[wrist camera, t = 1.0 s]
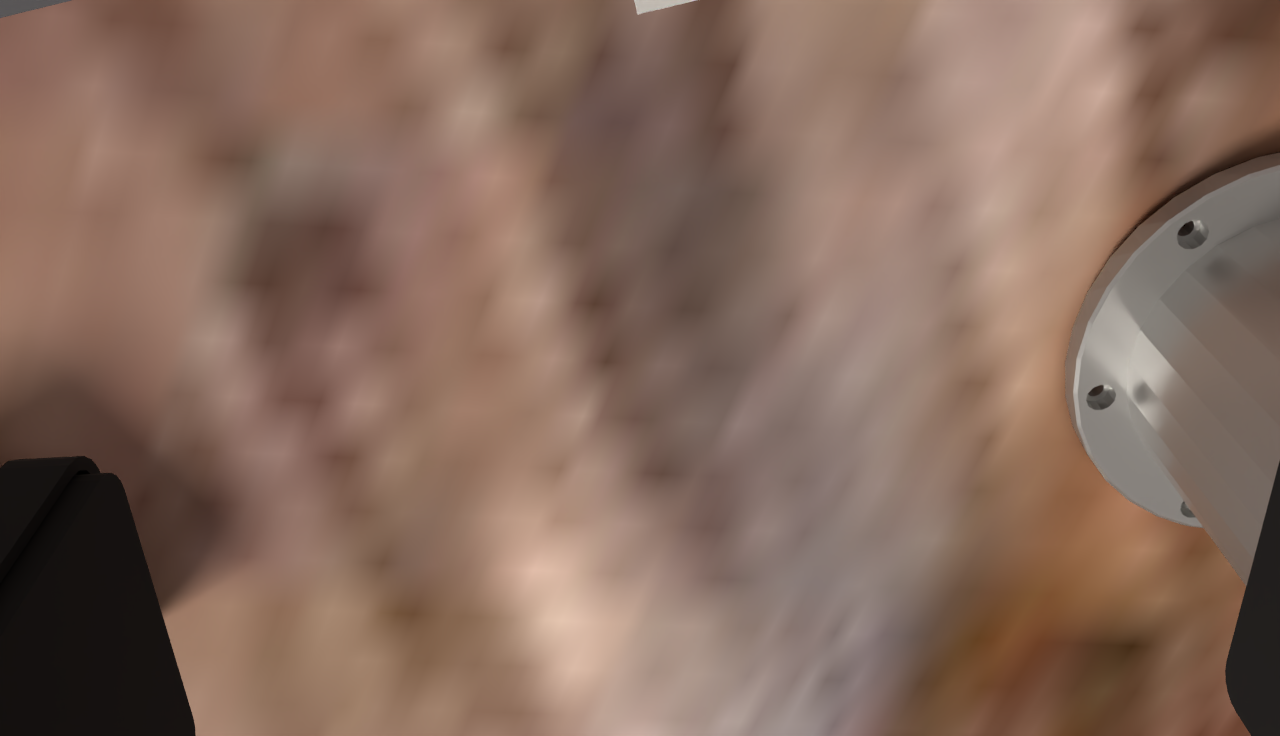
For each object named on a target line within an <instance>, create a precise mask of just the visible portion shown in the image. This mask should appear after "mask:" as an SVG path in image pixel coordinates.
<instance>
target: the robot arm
mask: <svg viewBox="0 0 1280 736" xmlns="http://www.w3.org/2000/svg"><path fill="white" fill-rule="evenodd" d="M1185 223H1187V224H1186V225H1185V227H1184V228H1182V229H1180V228H1181V227H1182V226H1183V225H1184V224H1185ZM1065 397H1066V401H1067V405H1068V409H1069V413H1070V417H1071V421H1072V425H1073V428H1074V430H1075V432H1076V434H1077V436H1078V438H1079V440H1080V441H1081V443H1082V445H1083V447H1084V449H1085V451H1086V453H1087V455H1088V456H1089V457H1090V459H1091V460H1092V462H1093V463H1094V464H1095V466H1096V467H1097V469H1098V470H1099V471H1100V473H1101V474H1102V476H1103V477H1104V478H1105V480H1106V481H1107V482H1108V483H1109V484H1111V485H1112V486H1113V487H1114V488H1115V489H1116V490H1117V491H1118V492H1120V493H1121V494H1122V495H1123V496H1124V497H1125V498H1126V499H1128V500H1129V501H1130V502H1132V503H1134V504H1136V505H1138V506H1139V507H1141V508H1143V509H1145V510H1147V511H1148V512H1150V513H1152V514H1154V515H1156V516H1158V517H1161V518H1164V519H1167V520H1170V521H1173V522H1176V523H1179V524H1182V525H1186V526H1192V527H1200V528H1204V529H1205V530H1206V532H1207V533H1208V534H1209V536H1210V537H1211V538H1212V540H1213V541H1214V543H1215V544H1216V545H1217V547H1218V548H1219V549H1220V551H1221V552H1222V554H1223V555H1224V556H1225V558H1226V559H1227V560H1228V562H1229V563H1230V564H1231V566H1232V567H1233V569H1234V570H1235V571H1236V573H1237V574H1238V575H1239V577H1240V578H1241V580H1242V581H1243V582H1244V584H1245V585H1246V590H1245V594H1244V597H1243V601H1242V605H1241V609H1240V613H1239V616H1238V620H1237V624H1236V628H1235V632H1234V635H1233V639H1232V643H1231V647H1230V650H1229V654H1228V658H1227V663H1226V670H1225V672H1226V685H1227V690H1228V694H1229V697H1230V700H1231V703H1232V705H1233V707H1234V709H1235V711H1236V712H1237V714H1238V716H1239V717H1240V719H1241V720H1242V722H1243V723H1244V725H1245V726H1246V728H1247V730H1248V731H1249V733H1250V734H1251V736H1280V153H1275V154H1271V155H1266V156H1261V157H1257V158H1254V159H1252V160H1249V161H1246V162H1244V163H1241V164H1239V165H1236V166H1234V167H1231V168H1229V169H1226V170H1223V171H1221V172H1218V173H1216V174H1214V175H1212V176H1210V177H1208V178H1207V179H1205V180H1203V181H1201V182H1200V183H1198V184H1196V185H1195V186H1193V187H1191V188H1189V189H1188V190H1186V191H1184V192H1182V193H1181V194H1179V195H1177V196H1176V197H1174V198H1173V199H1172V200H1170V201H1169V202H1168V203H1167V204H1165V205H1164V206H1163V207H1162V208H1160V209H1159V210H1158V211H1157V212H1155V213H1154V214H1153V215H1152V216H1150V217H1149V218H1148V219H1147V220H1145V221H1144V222H1143V223H1142V224H1140V225H1139V226H1138V227H1137V228H1136V230H1135V231H1134V232H1133V233H1132V234H1131V235H1130V236H1129V237H1128V238H1127V239H1126V240H1125V242H1124V243H1123V244H1122V245H1121V246H1120V247H1119V248H1118V249H1117V250H1116V251H1115V253H1114V254H1113V255H1112V256H1111V257H1110V258H1109V260H1108V261H1107V263H1106V264H1105V266H1104V267H1103V269H1102V271H1101V272H1100V274H1099V275H1098V277H1097V278H1096V280H1095V281H1094V283H1093V284H1092V286H1091V287H1090V289H1089V291H1088V292H1087V294H1086V297H1085V299H1084V302H1083V304H1082V306H1081V309H1080V311H1079V313H1078V316H1077V318H1076V320H1075V323H1074V325H1073V328H1072V332H1071V337H1070V342H1069V347H1068V351H1067V356H1066V361H1065ZM0 736H195V725H194V720H193V716H192V712H191V709H190V706H189V702H188V699H187V696H186V692H185V689H184V686H183V682H182V679H181V676H180V672H179V669H178V666H177V662H176V659H175V656H174V653H173V649H172V646H171V643H170V639H169V636H168V633H167V629H166V626H165V623H164V619H163V616H162V613H161V609H160V606H159V603H158V599H157V596H156V593H155V589H154V586H153V583H152V580H151V576H150V573H149V570H148V566H147V563H146V560H145V556H144V553H143V550H142V546H141V543H140V540H139V536H138V533H137V530H136V526H135V523H134V520H133V516H132V513H131V510H130V507H129V503H128V500H127V497H126V493H125V490H124V488H123V485H122V483H121V481H120V480H119V478H118V477H117V476H116V475H114V474H112V473H100V471H99V469H98V467H97V466H96V464H95V463H94V462H93V461H92V460H91V459H89V458H87V457H85V456H77V457H57V458H38V459H19V460H12V461H8V462H6V463H5V464H4V465H3V466H2V467H1V468H0Z"/></svg>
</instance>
